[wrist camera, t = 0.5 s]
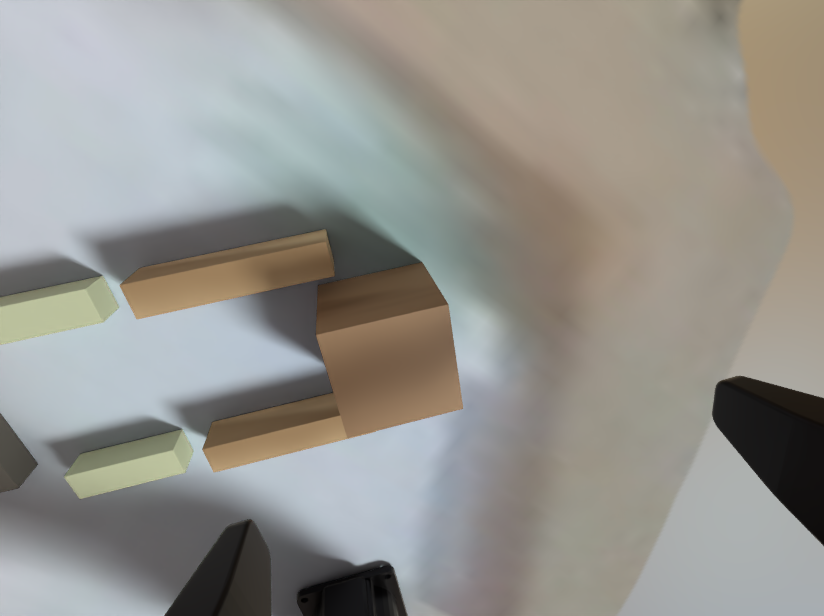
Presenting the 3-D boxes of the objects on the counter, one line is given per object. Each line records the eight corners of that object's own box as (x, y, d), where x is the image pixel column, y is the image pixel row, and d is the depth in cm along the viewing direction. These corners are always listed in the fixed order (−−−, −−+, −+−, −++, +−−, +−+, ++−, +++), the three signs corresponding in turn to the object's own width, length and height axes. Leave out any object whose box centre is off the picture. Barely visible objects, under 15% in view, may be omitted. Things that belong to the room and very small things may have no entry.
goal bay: (193, 451, 23) (185, 472, 21) (94, 475, 22) (79, 499, 21) (102, 275, 18) (85, 288, 17) (-23, 301, 18) (-51, 317, 17)
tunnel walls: (372, 407, 24) (375, 431, 22) (222, 443, 23) (213, 472, 21) (325, 229, 19) (325, 241, 17) (139, 267, 19) (119, 285, 17)
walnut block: (436, 349, 23) (463, 408, 19) (342, 372, 23) (347, 438, 18) (421, 261, 21) (448, 304, 16) (317, 284, 20) (316, 335, 16)
